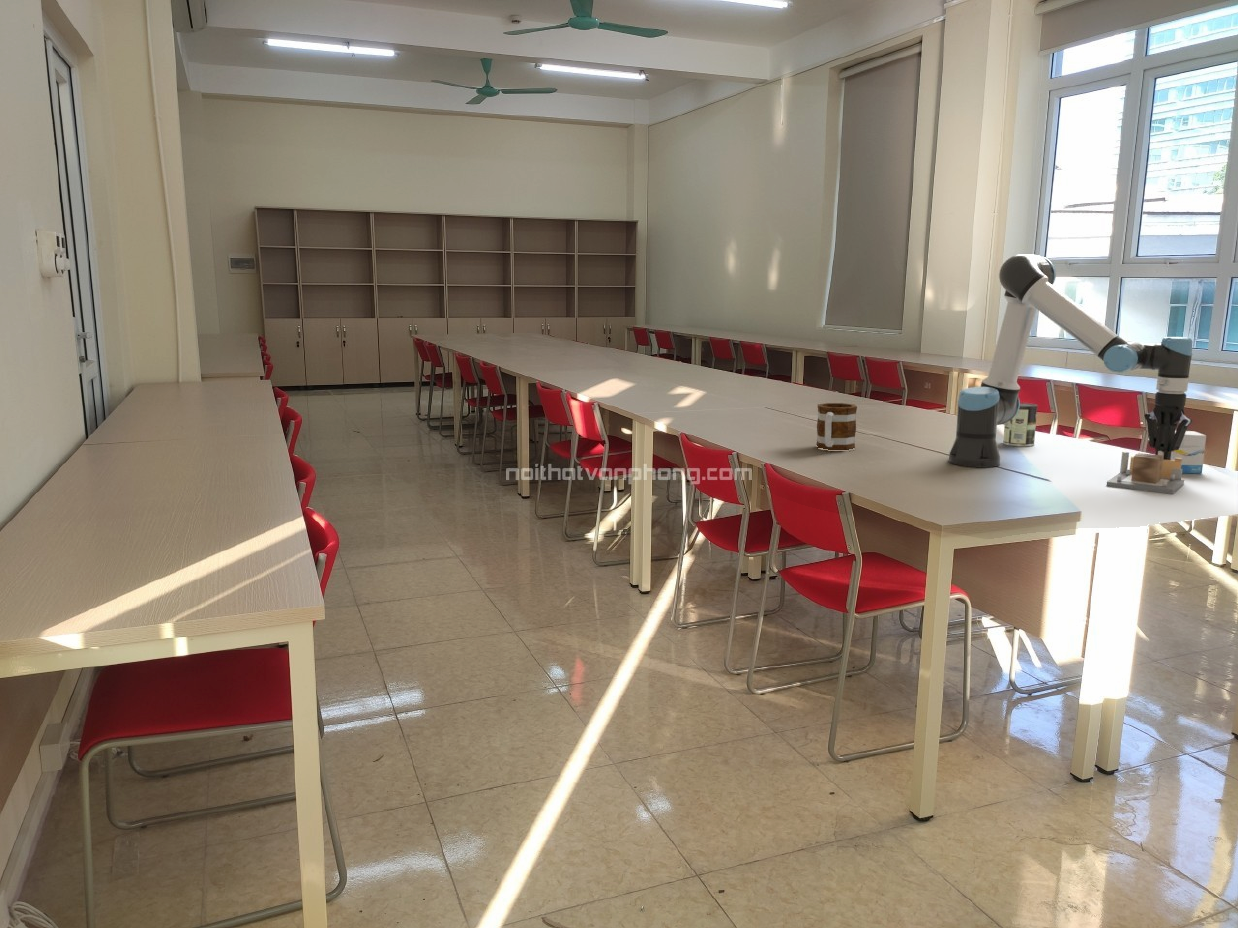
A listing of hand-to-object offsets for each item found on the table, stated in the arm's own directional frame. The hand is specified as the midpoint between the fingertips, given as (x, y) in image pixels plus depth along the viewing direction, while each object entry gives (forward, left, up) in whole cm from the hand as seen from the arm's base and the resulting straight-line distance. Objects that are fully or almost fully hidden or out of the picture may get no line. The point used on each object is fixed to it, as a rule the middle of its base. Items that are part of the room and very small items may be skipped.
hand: (1160, 473), depth 258 cm
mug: (-94, -18, -2) cm, 96 cm away
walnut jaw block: (-1, -13, 0) cm, 13 cm away
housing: (-2, -12, -2) cm, 12 cm away
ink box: (+3, +16, -2) cm, 16 cm away
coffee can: (-49, +33, -2) cm, 59 cm away
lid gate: (-1, -2, -1) cm, 3 cm away
